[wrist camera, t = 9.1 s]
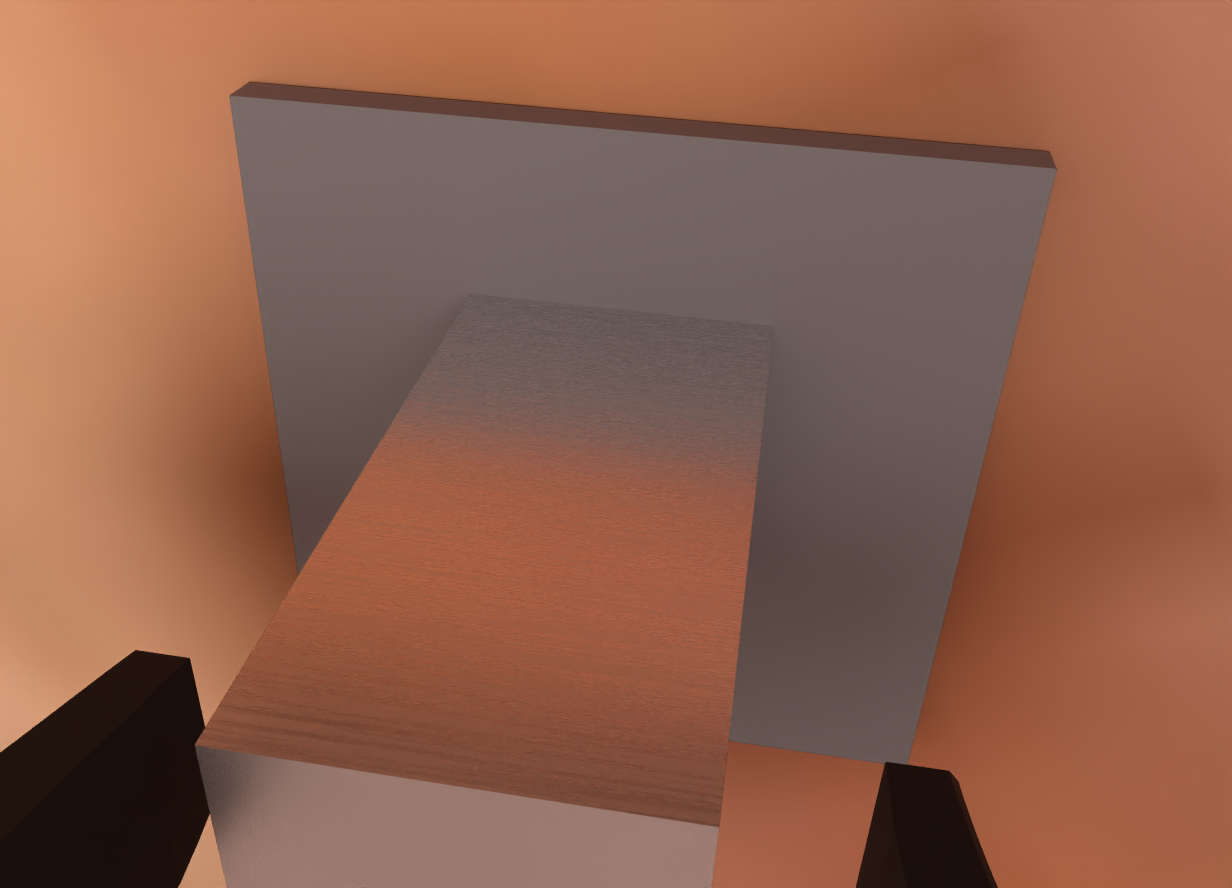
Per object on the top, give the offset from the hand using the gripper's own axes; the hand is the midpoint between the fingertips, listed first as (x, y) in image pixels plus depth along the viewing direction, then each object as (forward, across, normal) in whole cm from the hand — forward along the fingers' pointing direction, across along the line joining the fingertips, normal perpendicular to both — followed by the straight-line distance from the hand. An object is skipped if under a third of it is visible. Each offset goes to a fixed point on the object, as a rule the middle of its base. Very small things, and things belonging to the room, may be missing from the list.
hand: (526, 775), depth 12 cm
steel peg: (+6, 0, -1) cm, 6 cm away
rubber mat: (+6, 0, 0) cm, 6 cm away
